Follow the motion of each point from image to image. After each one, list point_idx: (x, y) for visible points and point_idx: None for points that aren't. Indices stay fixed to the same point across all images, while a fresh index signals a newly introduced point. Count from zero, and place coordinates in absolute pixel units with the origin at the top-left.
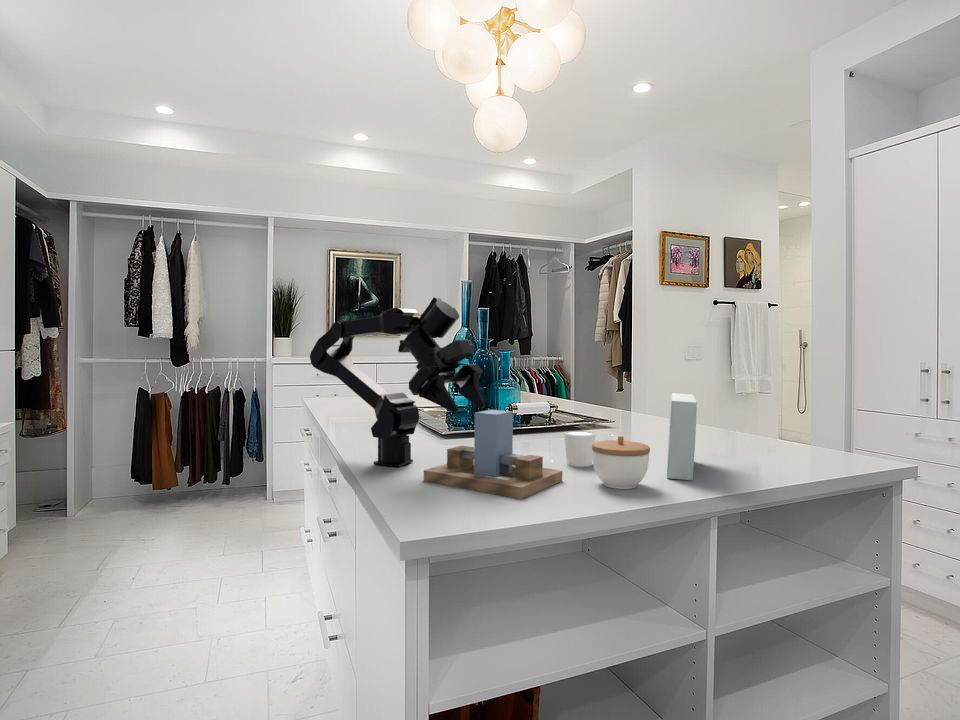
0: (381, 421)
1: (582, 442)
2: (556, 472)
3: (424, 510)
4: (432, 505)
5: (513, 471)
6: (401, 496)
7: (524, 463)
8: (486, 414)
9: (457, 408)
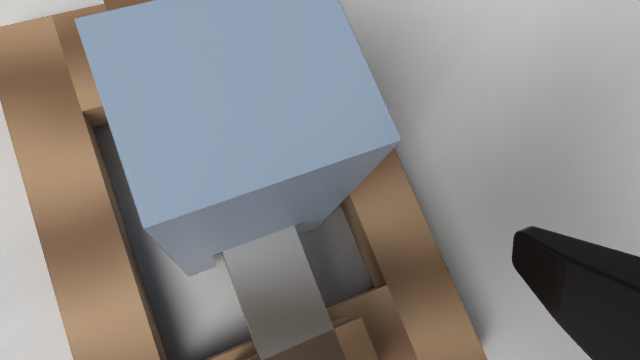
0: None
1: None
2: (32, 24)
3: (586, 58)
4: (553, 81)
5: (114, 207)
6: (602, 209)
7: None
8: (355, 42)
9: (530, 231)
